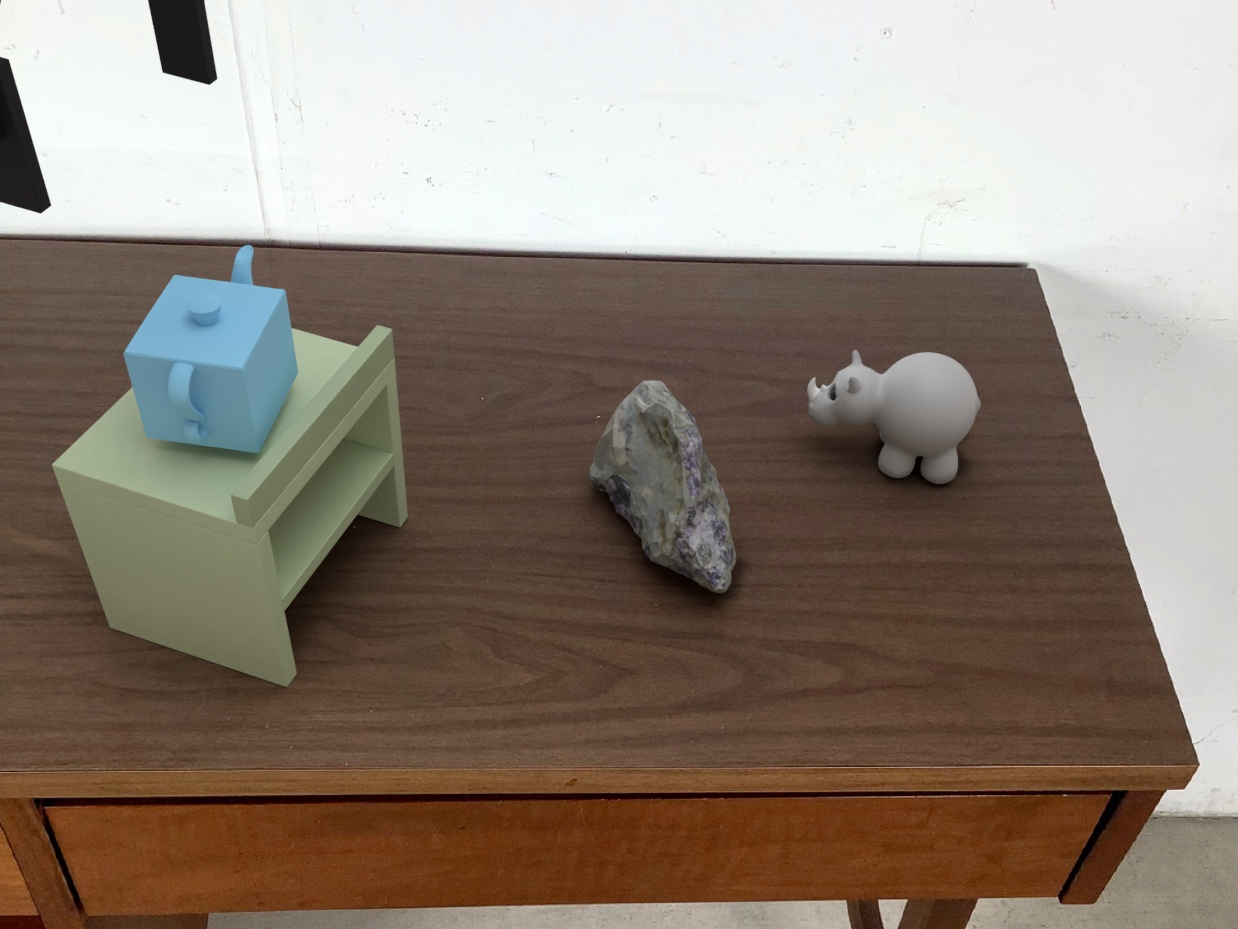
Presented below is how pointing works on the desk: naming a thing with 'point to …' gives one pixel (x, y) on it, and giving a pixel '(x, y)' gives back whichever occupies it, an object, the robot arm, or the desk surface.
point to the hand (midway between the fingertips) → (111, 135)
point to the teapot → (214, 360)
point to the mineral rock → (666, 486)
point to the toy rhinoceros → (904, 410)
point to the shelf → (237, 508)
